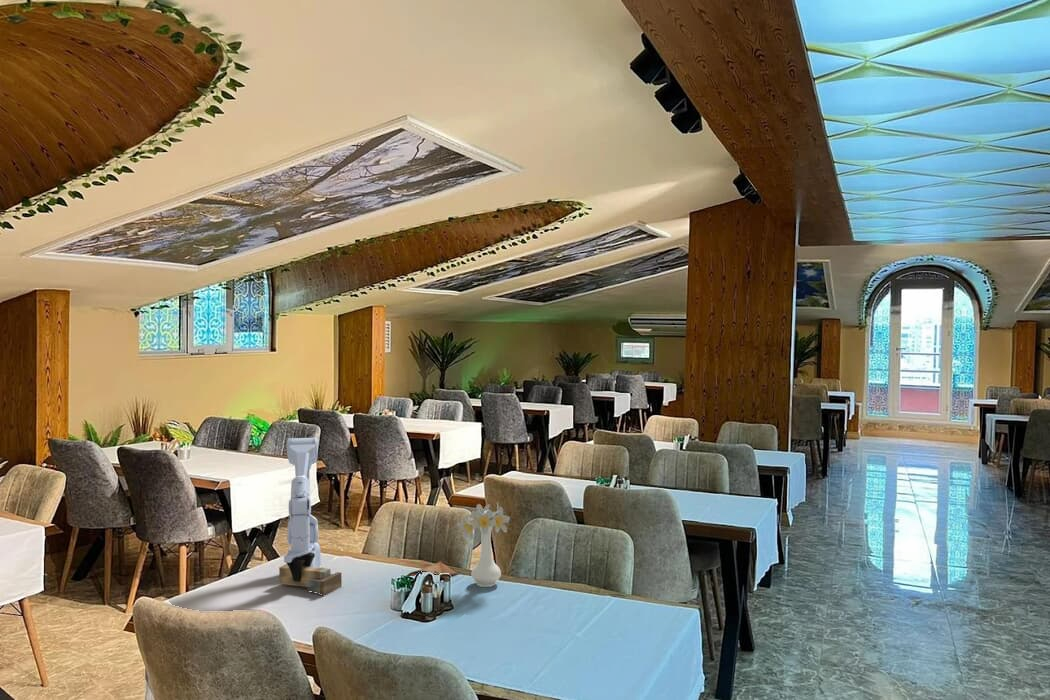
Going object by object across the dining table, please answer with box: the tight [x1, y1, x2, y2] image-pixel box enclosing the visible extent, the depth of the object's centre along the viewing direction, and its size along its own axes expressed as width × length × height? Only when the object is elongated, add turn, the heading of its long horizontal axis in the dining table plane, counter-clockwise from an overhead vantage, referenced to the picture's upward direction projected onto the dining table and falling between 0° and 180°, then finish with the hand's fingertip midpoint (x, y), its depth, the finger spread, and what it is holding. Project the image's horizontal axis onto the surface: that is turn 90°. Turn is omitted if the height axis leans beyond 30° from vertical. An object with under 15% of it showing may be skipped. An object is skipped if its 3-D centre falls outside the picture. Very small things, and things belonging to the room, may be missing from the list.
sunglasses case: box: [406, 560, 459, 577], centre depth 261 cm, size 18×7×7 cm
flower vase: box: [456, 502, 511, 588], centre depth 254 cm, size 13×18×25 cm
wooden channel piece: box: [307, 571, 343, 596], centre depth 250 cm, size 6×9×4 cm
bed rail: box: [278, 563, 332, 587], centre depth 253 cm, size 16×4×5 cm, turn 72°
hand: (300, 579), depth 253 cm, fingers closed on bed rail, 3 cm apart
